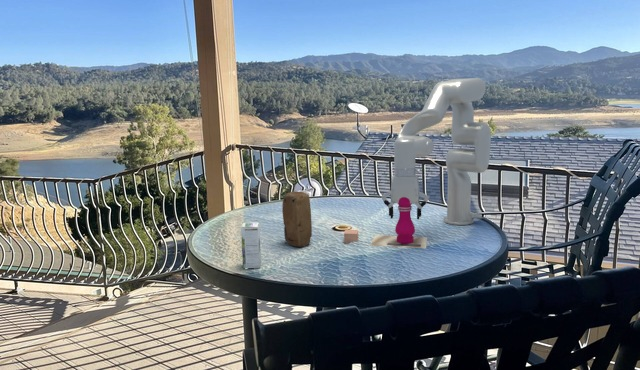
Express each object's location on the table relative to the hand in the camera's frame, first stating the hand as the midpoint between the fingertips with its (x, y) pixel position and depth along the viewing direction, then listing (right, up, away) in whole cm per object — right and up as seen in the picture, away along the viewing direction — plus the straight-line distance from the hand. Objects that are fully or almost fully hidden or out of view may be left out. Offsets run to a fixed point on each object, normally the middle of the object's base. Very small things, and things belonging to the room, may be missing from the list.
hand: (405, 218), depth 174 cm
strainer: (-39, -5, +35) cm, 53 cm away
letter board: (-2, -10, +2) cm, 10 cm away
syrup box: (-54, -15, -16) cm, 58 cm away
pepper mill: (0, -9, +2) cm, 9 cm away
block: (-40, -11, +6) cm, 42 cm away
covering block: (-19, -10, +7) cm, 23 cm away
